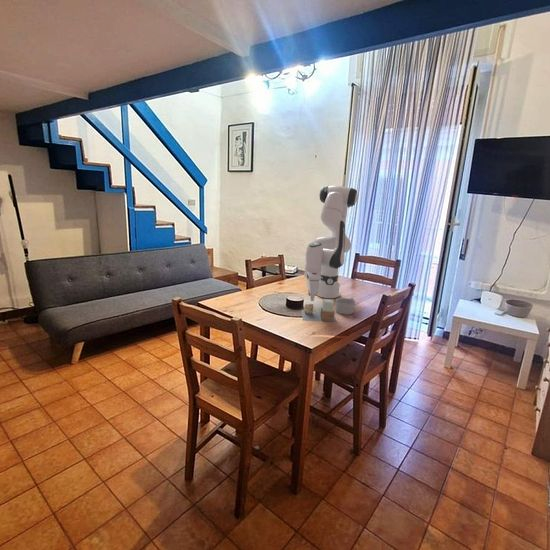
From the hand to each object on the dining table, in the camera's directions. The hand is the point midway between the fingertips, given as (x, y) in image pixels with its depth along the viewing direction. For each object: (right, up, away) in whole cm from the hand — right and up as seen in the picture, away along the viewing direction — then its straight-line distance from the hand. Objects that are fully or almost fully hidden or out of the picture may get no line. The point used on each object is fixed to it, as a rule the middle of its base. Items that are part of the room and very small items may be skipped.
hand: (310, 298), depth 178 cm
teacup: (+21, -9, +9) cm, 25 cm away
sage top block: (+8, -6, -5) cm, 11 cm away
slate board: (+4, -11, -1) cm, 11 cm away
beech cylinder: (-1, -8, +3) cm, 9 cm away
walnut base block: (+8, -11, -4) cm, 14 cm away
